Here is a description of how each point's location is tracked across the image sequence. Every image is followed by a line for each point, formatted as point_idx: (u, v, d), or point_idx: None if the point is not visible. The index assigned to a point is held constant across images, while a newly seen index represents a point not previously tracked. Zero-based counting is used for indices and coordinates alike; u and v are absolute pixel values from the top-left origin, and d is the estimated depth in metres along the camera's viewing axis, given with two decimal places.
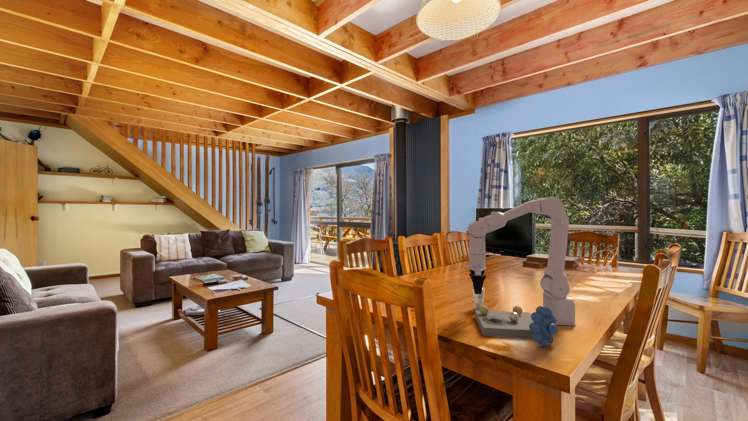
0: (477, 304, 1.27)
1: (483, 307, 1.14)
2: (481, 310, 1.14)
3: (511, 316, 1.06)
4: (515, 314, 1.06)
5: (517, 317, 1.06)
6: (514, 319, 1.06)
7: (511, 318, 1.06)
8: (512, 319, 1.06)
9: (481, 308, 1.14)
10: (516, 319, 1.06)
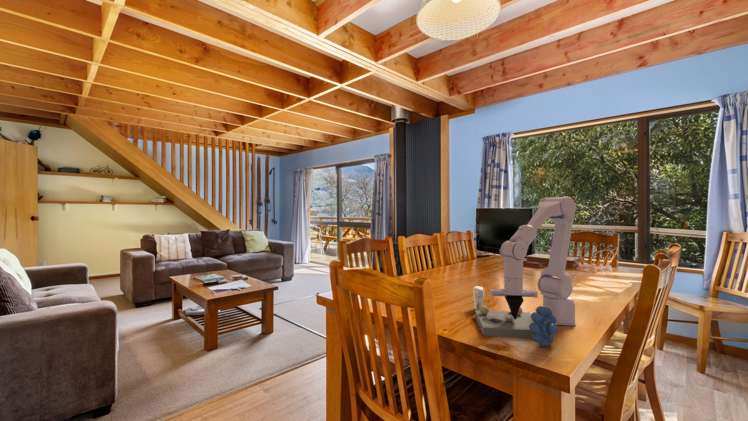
0: (477, 304, 1.27)
1: (483, 307, 1.14)
2: (481, 310, 1.14)
3: (507, 319, 1.06)
4: (507, 315, 1.07)
5: (511, 316, 1.06)
6: (511, 319, 1.06)
7: (508, 320, 1.06)
8: (510, 321, 1.06)
9: (481, 308, 1.14)
10: (512, 318, 1.06)
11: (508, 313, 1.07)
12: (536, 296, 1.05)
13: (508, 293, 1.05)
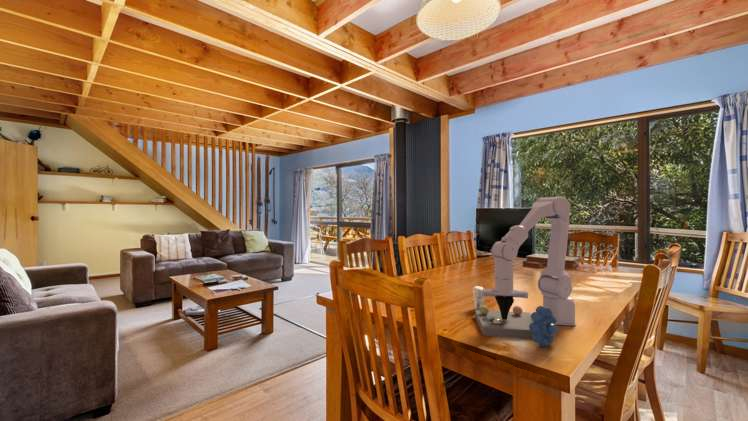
0: (477, 304, 1.27)
1: (483, 307, 1.14)
2: (481, 310, 1.14)
3: None
4: None
5: None
6: None
7: (500, 322, 1.07)
8: (499, 322, 1.07)
9: (481, 308, 1.14)
10: None
11: None
12: (526, 297, 1.06)
13: (498, 293, 1.06)
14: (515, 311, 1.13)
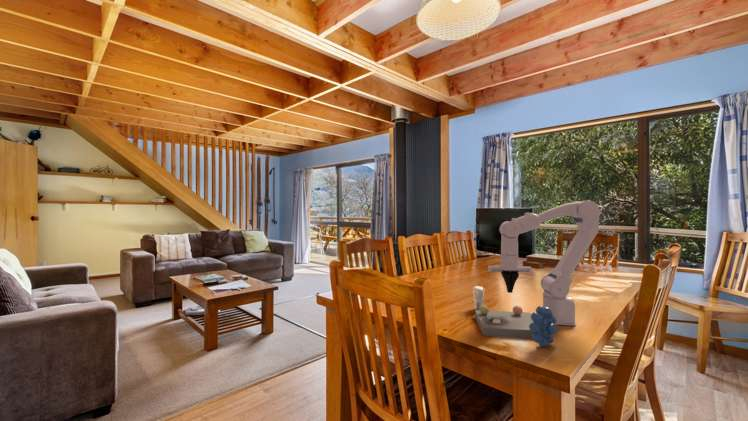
0: (477, 304, 1.27)
1: (483, 307, 1.14)
2: (481, 310, 1.14)
3: None
4: None
5: None
6: None
7: (499, 322, 1.07)
8: (498, 322, 1.07)
9: (481, 308, 1.14)
10: None
11: None
12: (530, 271, 1.15)
13: (504, 268, 1.15)
14: (515, 311, 1.13)
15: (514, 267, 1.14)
